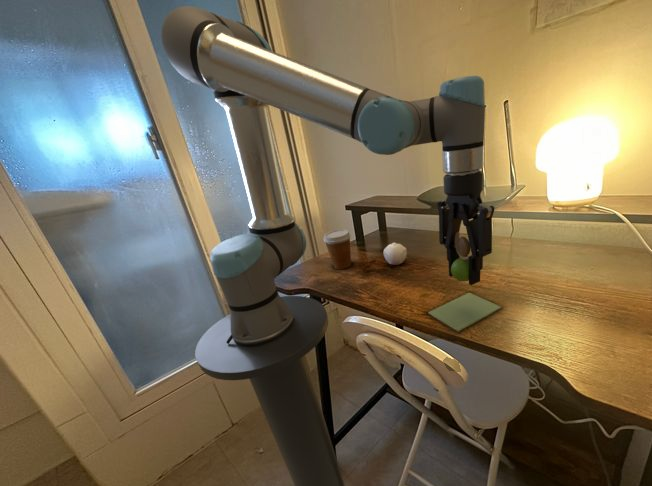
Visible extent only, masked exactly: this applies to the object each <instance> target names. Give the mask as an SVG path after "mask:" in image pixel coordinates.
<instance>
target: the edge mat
mask: <svg viewBox="0 0 652 486" xmlns="http://www.w3.org/2000/svg"><path fill="white" fill-rule="evenodd" d="M501 309H502V306H500V305H499V304H496V303H493V302H491V301H489V300H487V299H484V298H482V297H480V296H478V295H476V294H474V293H471V292H467V293H464V294H463V295H461V296H459V297H457V298H454V299H453V300H451V301H448V302H446V303H444V304H442V305H440V306H438V307H436V308H433V309H432V310H429V311H428V312H427V314H428V315H430V316H431V317H432V318H434V319H436V320H438V321H439V322H441V323H443V324H444V325H446V326H447V327H449V328H450V329H452V330H454V331H456V332H457V333H459V332H461V331H463V330H464V329H467V328H468V327H469V326H472V325H473V324H475V323H477V322H479V321H481V320H483V319H485V318H486V317H488V316H490V315H491V314H493V313H496V312H497V311H499V310H501Z"/></svg>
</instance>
